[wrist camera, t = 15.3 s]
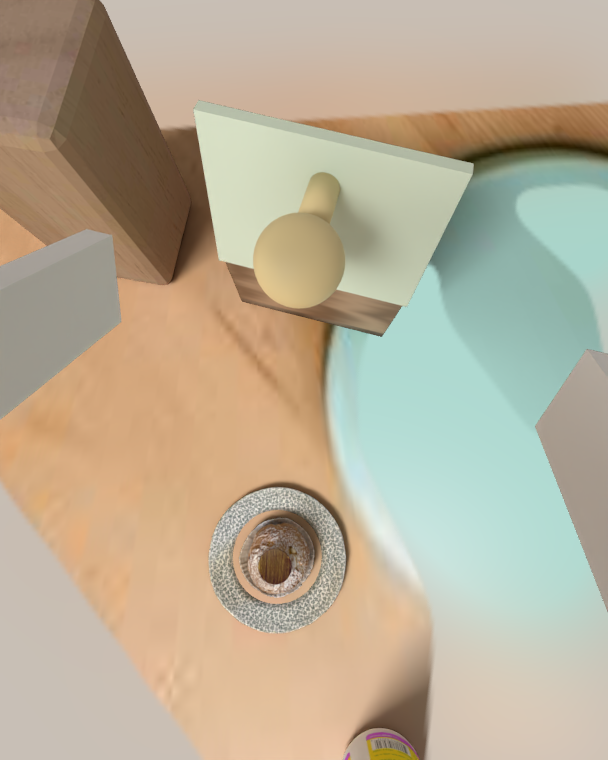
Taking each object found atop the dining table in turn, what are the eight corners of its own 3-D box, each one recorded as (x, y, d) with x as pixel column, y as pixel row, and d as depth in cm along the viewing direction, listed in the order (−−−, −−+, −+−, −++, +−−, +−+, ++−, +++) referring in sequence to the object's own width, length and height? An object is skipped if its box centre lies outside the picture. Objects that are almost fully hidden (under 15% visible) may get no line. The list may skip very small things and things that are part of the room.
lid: (473, 163, 21) (458, 301, 17) (408, 298, 31) (389, 403, 27) (198, 100, 22) (126, 219, 18) (222, 252, 32) (179, 348, 28)
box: (406, 232, 42) (434, 173, 33) (381, 336, 40) (403, 304, 31) (272, 200, 43) (264, 134, 34) (242, 301, 41) (224, 259, 32)
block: (101, 183, 43) (-71, -44, 23) (196, 199, 43) (101, -18, 23) (75, 273, 41) (-135, 111, 22) (173, 290, 41) (50, 141, 21)
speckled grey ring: (372, 567, 37) (381, 583, 33) (264, 658, 36) (258, 688, 31) (290, 459, 39) (288, 460, 34) (184, 542, 37) (167, 555, 33)
